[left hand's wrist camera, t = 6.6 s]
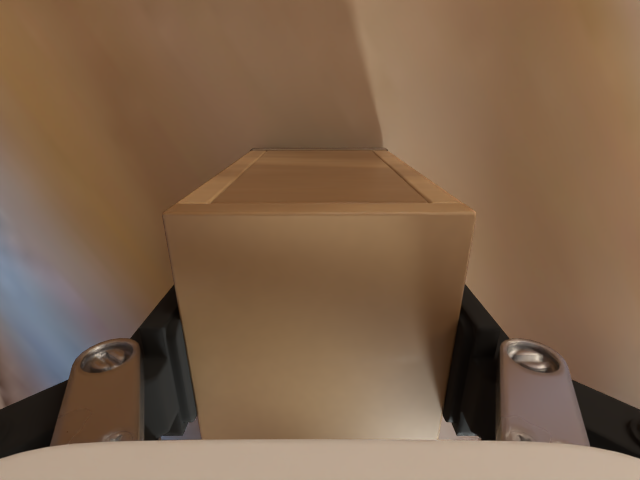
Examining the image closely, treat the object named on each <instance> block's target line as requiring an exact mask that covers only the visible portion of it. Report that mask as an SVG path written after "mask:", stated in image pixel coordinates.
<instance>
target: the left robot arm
mask: <svg viewBox="0 0 640 480" xmlns="http://www.w3.org/2000/svg"><path fill="white" fill-rule="evenodd" d="M442 414H443V417H444V419H445V421H446V422H451V423H452V425H453V428H454V430H455V432H456V435H457V436H479V440H402V439H238V440H161V436H162V435H163V436H183V434H184V431H185V429H186V427H187V424H188V422H193V421H194V420H195V418H196V416H197V411H196V405H195V399H194V393H193V388H192V382H191V376H190V371H189V365H188V359H187V354H186V348H185V342H184V336H183V331H182V325H181V319H180V314H179V308H178V302H177V297H176V291H175V285H173V287H172V288H171V289H170V290H169V291H168V293H167V294H166V295H165V296H164V298H163V299H162V300H161V301H160V302H159V304H158V305H157V306H156V307H155V309H154V310H153V311H152V312H151V313H150V315H149V316H148V317H147V318H146V320H145V321H144V322H143V323H142V325H141V326H140V327H139V328H138V330H137V331H136V332H135V333H134V335H133V336H132V337H131V338H130V339H128V338H118V339H111V340H107V341H104V342H101V343H98V344H96V345H94V346H92V347H90V348H89V349H87V350H86V351H84V352H83V353H81V354H80V355H79V356H78V357H77V358H76V360H75V362H74V363H73V365H72V369H71V372H70V376H69V379H68V380H66V381H64V382H62V383H59V384H57V385H55V386H53V387H50V388H48V389H46V390H44V391H41V392H39V393H37V394H34V395H32V396H30V397H28V398H25V399H23V400H21V401H19V402H16V403H14V404H12V405H10V406H7V407H5V408H3V409H0V480H640V410H639V409H637V408H635V407H633V406H630V405H628V404H626V403H623V402H621V401H619V400H617V399H614V398H612V397H610V396H608V395H605V394H603V393H601V392H598V391H596V390H594V389H592V388H589V387H587V386H585V385H583V384H580V383H578V382H576V381H573V380H571V376H570V372H569V369H568V365H567V363H566V362H565V360H564V358H563V357H562V356H561V355H560V354H559V353H557V352H556V351H554V350H553V349H551V348H550V347H548V346H546V345H544V344H542V343H539V342H536V341H533V340H529V339H522V338H512V339H509V338H508V336H507V335H506V334H505V333H504V331H503V330H502V329H501V328H500V326H499V325H498V324H497V323H496V322H495V320H494V319H493V318H492V317H491V315H490V314H489V313H488V312H487V310H486V309H485V308H484V307H483V305H482V304H481V303H480V302H479V301H478V299H477V298H476V297H475V296H474V295H473V293H472V292H471V291H470V290H469V288H468V287H467V286H466V285H464V291H463V297H462V303H461V309H460V315H459V320H458V326H457V332H456V338H455V344H454V349H453V355H452V361H451V367H450V373H449V378H448V384H447V390H446V396H445V402H444V407H443V413H442Z"/></svg>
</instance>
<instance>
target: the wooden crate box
mask: <svg viewBox="0 0 640 480" xmlns="http://www.w3.org/2000/svg"><path fill="white" fill-rule="evenodd" d="M162 217H163V222H164V228H165V234H166V240H167V245H168V251H169V257H170V262H171V268H172V274H173V279H174V285H175V291H176V297H177V302H178V308H179V314H180V319H181V325H182V331H183V336H184V342H185V348H186V354H187V359H188V365H189V371H190V376H191V382H192V388H193V393H194V399H195V405H196V411H197V416H198V422H199V428H200V433H201V439H202V440H238V439H402V440H438V438H439V432H440V426H441V420H442V413H443V407H444V402H445V396H446V390H447V384H448V378H449V373H450V367H451V361H452V355H453V349H454V344H455V338H456V332H457V326H458V320H459V315H460V309H461V303H462V297H463V291H464V285H465V280H466V274H467V268H468V262H469V256H470V250H471V244H472V239H473V233H474V227H475V221H476V212H475V211H474V210H472V209H471V208H469V207H468V206H467V205H465V204H463V203H462V202H461V201H459V200H458V199H456V198H455V197H453V196H452V195H450V194H449V193H448V192H446V191H445V190H443V189H442V188H440V187H439V186H437V185H436V184H435V183H433V182H432V181H430V180H429V179H427V178H426V177H425V176H423V175H422V174H420V173H419V172H417V171H416V170H414V169H413V168H412V167H410V166H409V165H407V164H406V163H404V162H403V161H401V160H400V159H399V158H397V157H396V156H394V155H393V154H391V153H390V152H389V151H388V150H387V149H386V148H253V149H251V150H250V152H249V153H247V154H246V155H244V156H243V157H242V158H240V159H239V160H237V161H236V162H234V163H233V164H232V165H230V166H229V167H227V168H226V169H224V170H223V171H222V172H220V173H219V174H217V175H216V176H214V177H213V178H212V179H210V180H209V181H207V182H206V183H204V184H203V185H202V186H200V187H199V188H197V189H196V190H194V191H193V192H192V193H190V194H189V195H187V196H186V197H185V198H183V199H182V200H180V201H179V202H177V204H175V205H173V206H172V207H170V208H169V209H167V210H166V211H165V212H163V215H162Z"/></svg>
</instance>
